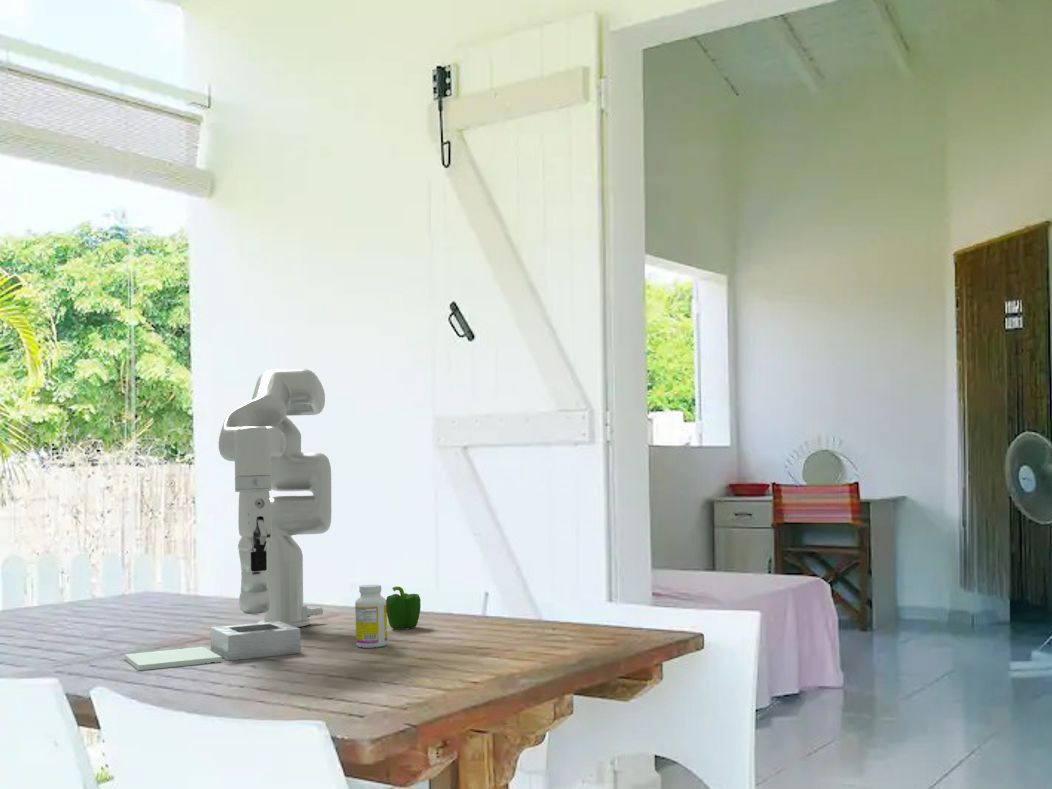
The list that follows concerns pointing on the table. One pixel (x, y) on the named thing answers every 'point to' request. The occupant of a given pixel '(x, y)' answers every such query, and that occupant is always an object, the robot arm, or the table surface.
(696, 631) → the table surface
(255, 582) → the plastic bottle
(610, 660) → the table surface
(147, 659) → the pad
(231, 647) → the bore block
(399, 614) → the bell pepper
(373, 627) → the supplement bottle
